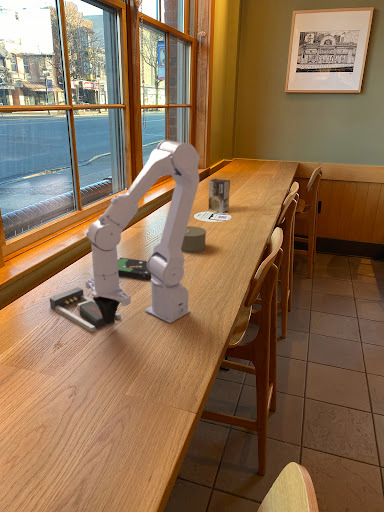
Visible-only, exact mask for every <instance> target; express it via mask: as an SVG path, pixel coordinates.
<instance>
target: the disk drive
mask: <svg viewBox="0 0 384 512" xmlns="http://www.w3.org/2000/svg"><path fill="white" fill-rule="evenodd" d="M117 259H118V258H117ZM118 276H119V277H121V278H128V279H134V280H135V279H136V280H142V281H150V280H151V278H152V277H151V273H150V272H149V270H148V269H147V260H143V259H134V258H133V259H132V258H127V257H120V258H119V259H118Z"/></svg>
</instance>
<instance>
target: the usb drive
mask: <svg viewBox="0 0 384 512" xmlns="http://www.w3.org/2000/svg"><path fill="white" fill-rule="evenodd" d="M76 305H77V310H78V311H79V316H80V317H82V319H83V320H85V321H86V322H88V323H90V324H91V325H93V326H95V330H98V329H100V328H103V327H106V326H108V325H110V324H113V323H115V322H116V321H115V319H114V321H113V322H111V323H109V324H107V323H105V322H104V320H103V317H102V314H101V312H100V309H99V307H98V306H97V304H96V303H95V302H93V301H85V302H84V301H82V302H80V303H77V304H76Z"/></svg>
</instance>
